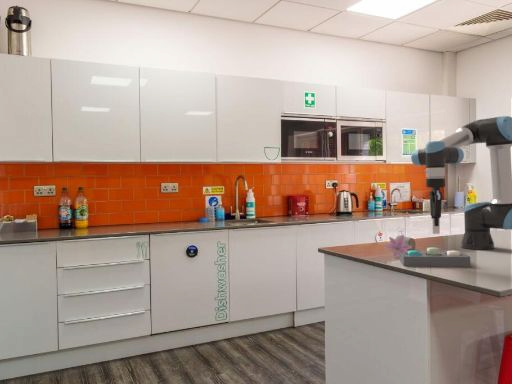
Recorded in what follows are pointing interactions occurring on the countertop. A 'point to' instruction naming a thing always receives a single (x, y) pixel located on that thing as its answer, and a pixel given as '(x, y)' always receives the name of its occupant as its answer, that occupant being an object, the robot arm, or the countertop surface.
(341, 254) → the countertop surface
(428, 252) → the sage button
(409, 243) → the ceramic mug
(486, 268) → the countertop surface
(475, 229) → the robot arm
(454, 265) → the console
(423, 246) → the countertop surface
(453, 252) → the cream button
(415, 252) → the teal button
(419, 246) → the countertop surface
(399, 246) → the lily
